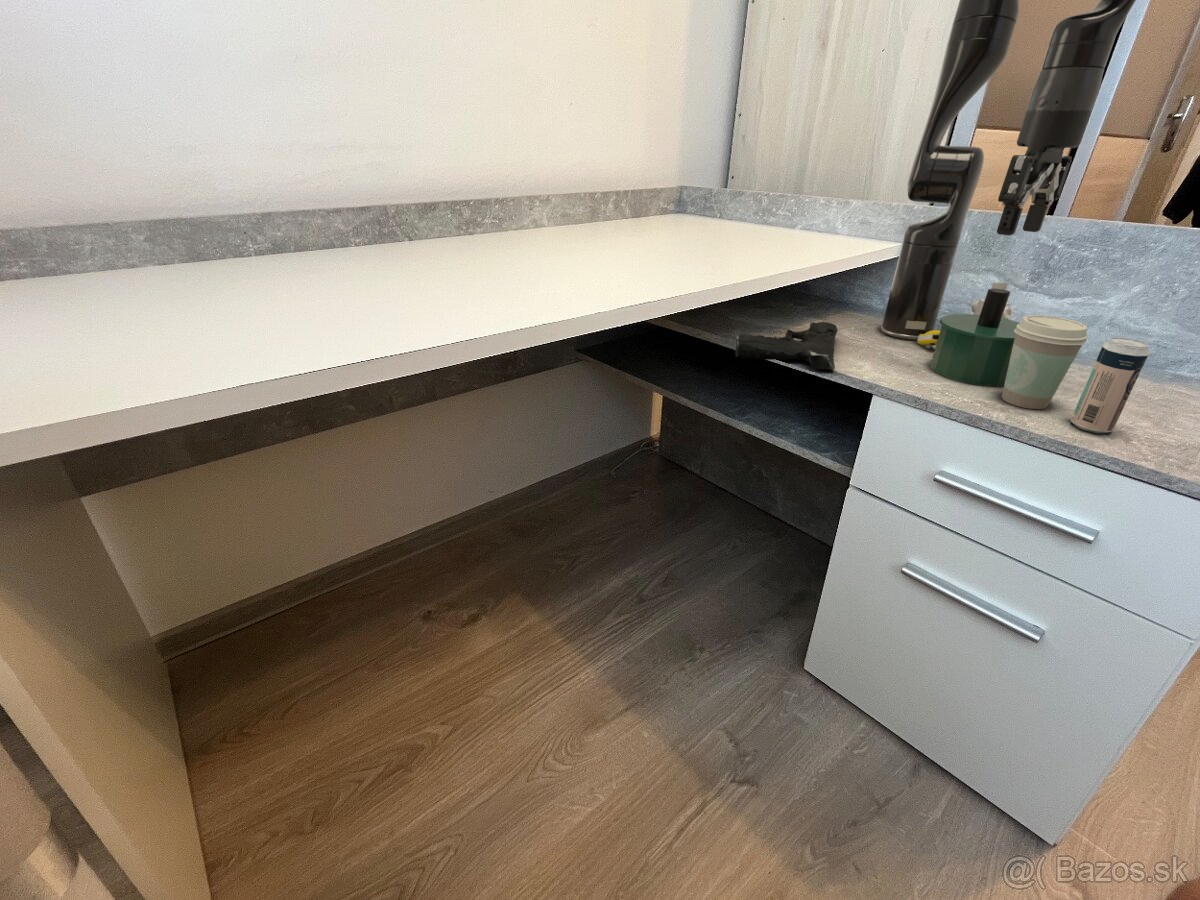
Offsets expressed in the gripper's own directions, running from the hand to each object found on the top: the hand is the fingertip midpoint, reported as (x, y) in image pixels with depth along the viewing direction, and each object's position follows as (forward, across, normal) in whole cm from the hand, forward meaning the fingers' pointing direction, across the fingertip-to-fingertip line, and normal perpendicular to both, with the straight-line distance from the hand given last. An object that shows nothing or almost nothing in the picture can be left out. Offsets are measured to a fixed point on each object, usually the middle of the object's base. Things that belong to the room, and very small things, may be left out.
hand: (1018, 233), depth 90 cm
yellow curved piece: (+22, +9, +8) cm, 25 cm away
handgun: (+21, -12, +18) cm, 30 cm away
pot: (+22, 0, 0) cm, 22 cm away
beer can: (+22, -8, -20) cm, 31 cm away
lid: (+15, 0, 0) cm, 15 cm away
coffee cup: (+22, -6, -11) cm, 25 cm away
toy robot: (+22, +16, +6) cm, 28 cm away
